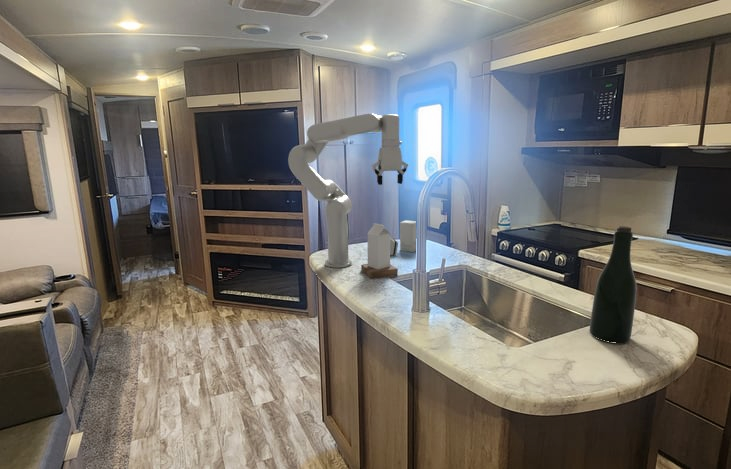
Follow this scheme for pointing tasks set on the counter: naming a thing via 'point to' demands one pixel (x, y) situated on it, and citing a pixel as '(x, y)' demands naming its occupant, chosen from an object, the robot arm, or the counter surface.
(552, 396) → the counter surface
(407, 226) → the skincare box
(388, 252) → the milk carton
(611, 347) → the counter surface
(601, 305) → the dark green wine bottle
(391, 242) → the grey rounded slab
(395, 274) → the walnut stand
